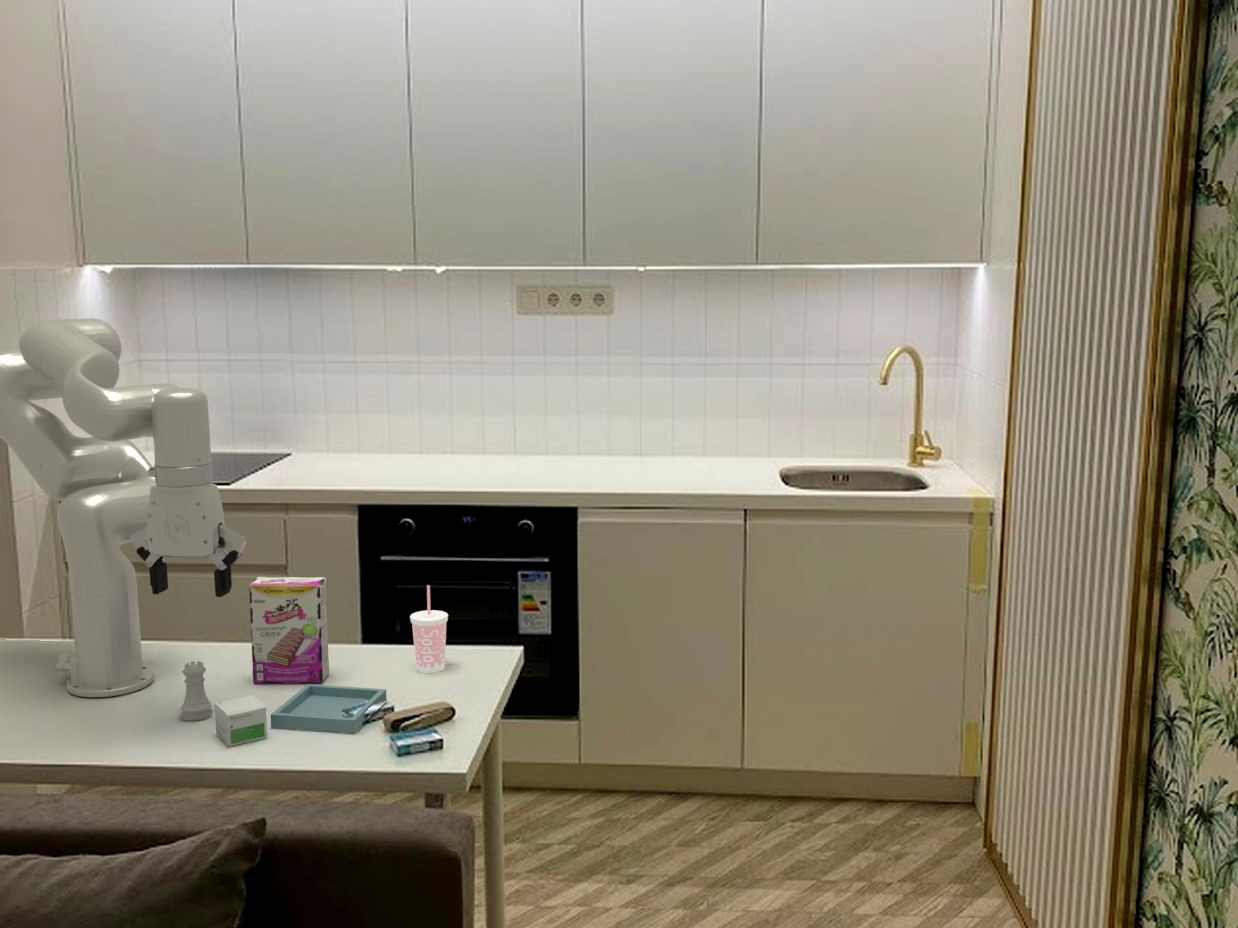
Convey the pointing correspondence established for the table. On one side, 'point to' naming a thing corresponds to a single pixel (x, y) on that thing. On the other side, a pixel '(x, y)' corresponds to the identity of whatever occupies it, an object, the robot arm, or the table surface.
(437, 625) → the beverage cup
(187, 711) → the rook chess piece
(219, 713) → the small box
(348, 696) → the tray
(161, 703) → the table surface
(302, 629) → the candy bar box
